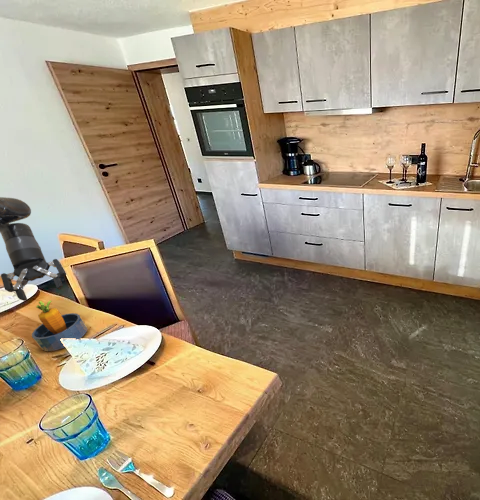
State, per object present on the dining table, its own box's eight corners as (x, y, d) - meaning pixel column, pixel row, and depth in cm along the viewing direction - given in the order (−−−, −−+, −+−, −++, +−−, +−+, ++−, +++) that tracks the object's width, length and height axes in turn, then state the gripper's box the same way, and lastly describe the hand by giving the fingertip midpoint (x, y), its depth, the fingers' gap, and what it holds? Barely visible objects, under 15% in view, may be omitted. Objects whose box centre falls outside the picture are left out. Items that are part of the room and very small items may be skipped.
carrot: (58, 335, 99) (33, 300, 92) (76, 329, 101) (53, 295, 94) (52, 344, 95) (26, 309, 88) (71, 339, 97) (47, 303, 90)
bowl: (35, 357, 91) (24, 344, 88) (49, 333, 101) (40, 320, 98) (82, 343, 96) (73, 330, 93) (92, 321, 105) (84, 309, 102)
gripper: (-12, 256, 91) (6, 301, 88) (48, 240, 99) (66, 281, 96) (1, 264, 97) (18, 306, 94) (57, 249, 105) (74, 288, 103)
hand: (42, 294), depth 95 cm, fingers open, 8 cm apart
